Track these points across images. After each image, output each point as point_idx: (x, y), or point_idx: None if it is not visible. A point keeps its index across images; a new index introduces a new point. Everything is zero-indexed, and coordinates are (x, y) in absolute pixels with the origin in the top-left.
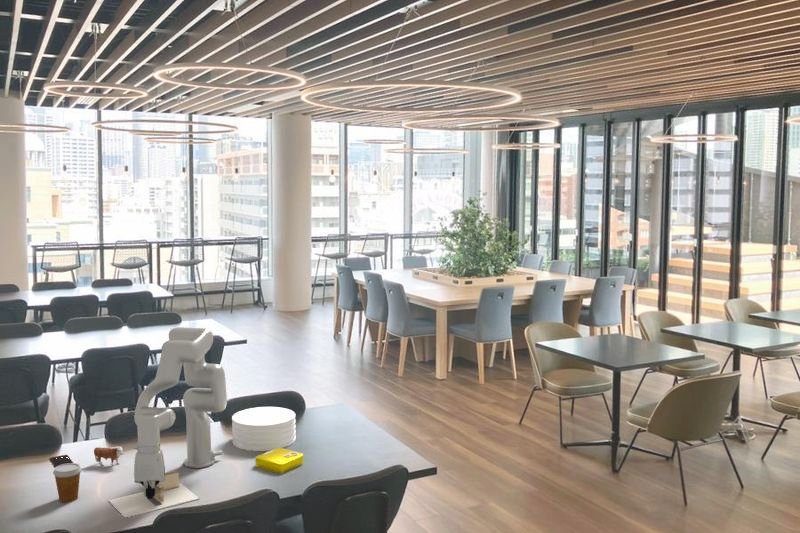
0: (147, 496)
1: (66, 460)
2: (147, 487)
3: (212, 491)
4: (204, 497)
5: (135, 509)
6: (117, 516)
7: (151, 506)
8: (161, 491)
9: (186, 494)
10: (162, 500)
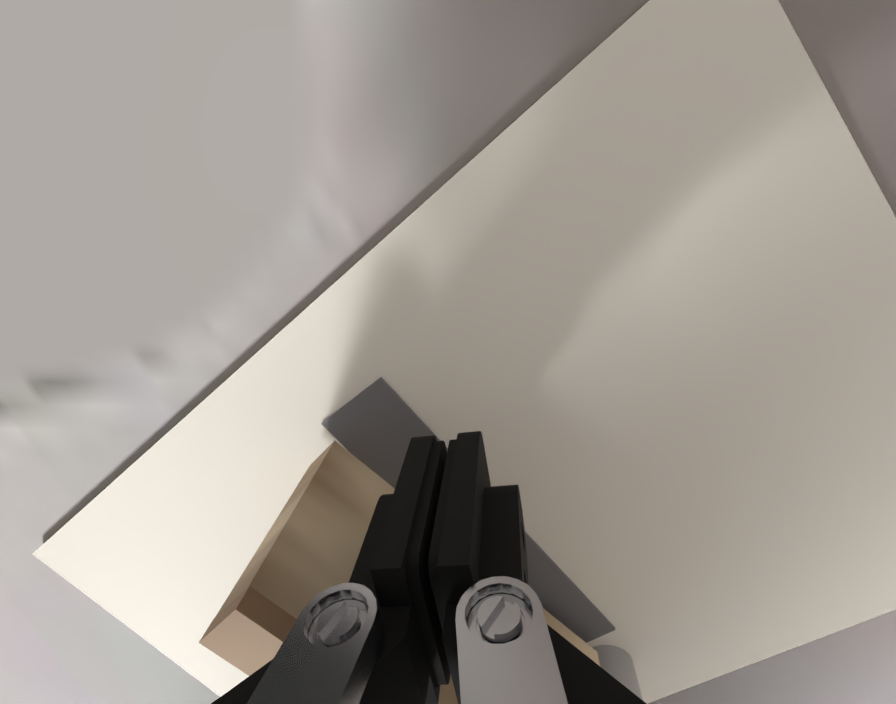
0: (476, 455)
1: None
2: (464, 600)
3: (40, 674)
4: (24, 579)
5: (620, 263)
6: (877, 12)
7: (427, 365)
8: (260, 558)
9: (197, 630)
10: (313, 467)
